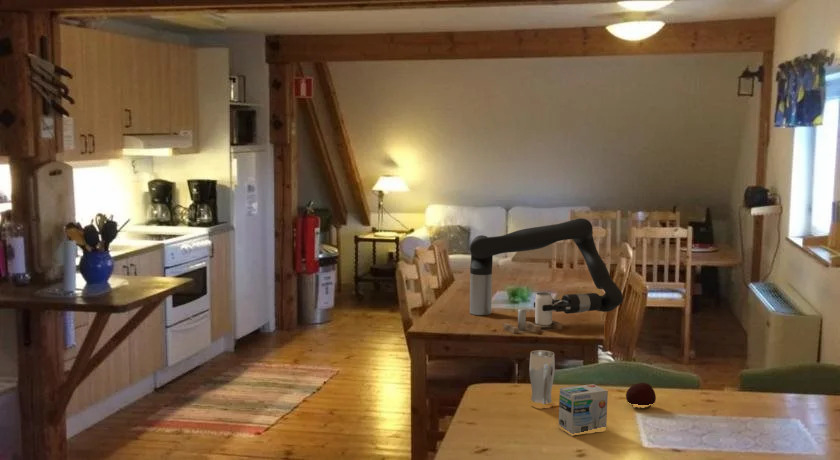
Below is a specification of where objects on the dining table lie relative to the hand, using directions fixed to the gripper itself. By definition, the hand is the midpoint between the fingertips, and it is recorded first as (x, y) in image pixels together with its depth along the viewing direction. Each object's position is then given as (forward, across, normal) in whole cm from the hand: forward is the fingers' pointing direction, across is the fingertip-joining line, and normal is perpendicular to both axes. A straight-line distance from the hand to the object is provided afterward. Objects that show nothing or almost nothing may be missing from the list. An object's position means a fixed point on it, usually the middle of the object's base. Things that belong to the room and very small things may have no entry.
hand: (538, 306), depth 325 cm
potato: (+21, +93, +10) cm, 96 cm away
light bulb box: (+46, +103, +9) cm, 113 cm away
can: (-2, 0, +7) cm, 8 cm away
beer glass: (+46, +82, +9) cm, 94 cm away
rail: (+3, 0, +10) cm, 10 cm away
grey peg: (+7, 0, +8) cm, 11 cm away
